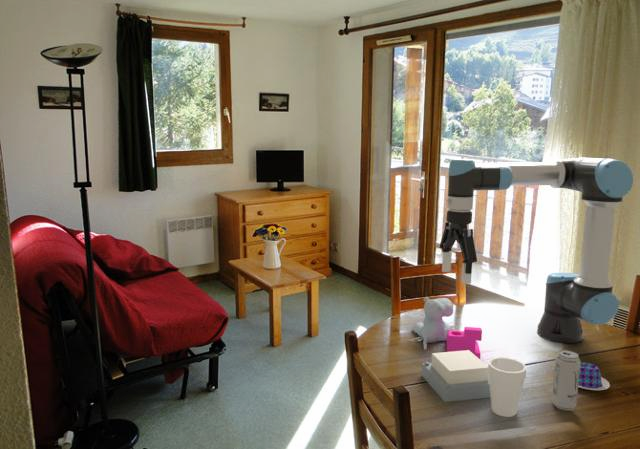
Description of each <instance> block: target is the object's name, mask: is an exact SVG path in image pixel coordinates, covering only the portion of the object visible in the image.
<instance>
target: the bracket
mask: <svg viewBox="0 0 640 449" xmlns="http://www.w3.org/2000/svg"><path fill="white" fill-rule="evenodd" d="M482 334H483V329H482V328H481V327H474V326H473V327H472V326H464V330H457V331H454V330H448V334H447V340H446V352H452V351H464V350H469V351H471V352H472V353H473V354H474V355H475V356H476V357H478V358H479V359H480V360H481V350H480V346H479V342H481V341H482V336H483V335H482ZM478 341H479V342H478Z"/></svg>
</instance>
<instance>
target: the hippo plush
mask: <svg viewBox="0 0 640 449" xmlns="http://www.w3.org/2000/svg"><path fill="white" fill-rule="evenodd" d="M423 301H424V305H423V311H424V315H425V317H424V319H423V322H422V321H417V322H416V323H415V324H414V325H413V327H412V330H413V332H414V333H415V334H416V333H417V334H416V335H418V336H417V337H414V338H412V339H409V342H410V341H411V340H414V341H419V342H421V341H423V342H422V344H423V350H424V351H426V350H427V347H428V344H434V343H436V342H445V341H446V340H447V334H448V330H454V331H458V330H456V328H455V327H454V326H452V325H451V326H450V324H449V323H447V322H445V321H444V319H443V318H444V317H447V318H448V317H451V316H452V315H453V314H454V304H453V303H452V301H451V300H450V299H449V298H446V297H439V298H435V299H430V298H429V297H428V296H425V297H424V298H423Z"/></svg>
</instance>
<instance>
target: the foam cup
mask: <svg viewBox="0 0 640 449" xmlns="http://www.w3.org/2000/svg"><path fill="white" fill-rule="evenodd" d="M487 366H488V373H489V382H490V396H491V397H490V406H491V411H492V412H493V413H494V414H495V415H497V416H500V417H504V418H506V417H507V418H511V417H515V416H516V415H517V412H518V409H519V404H520V399H521V395H522V392H523V391H522V390H523V387H524V383H525V380H526V377H527V376H526V375H527V365H525V363H524V362H522V361H519V360H517V359H515V358H510V357H504V356H501V357H500V356H498V357H493V358H491V359H488V365H487Z"/></svg>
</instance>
